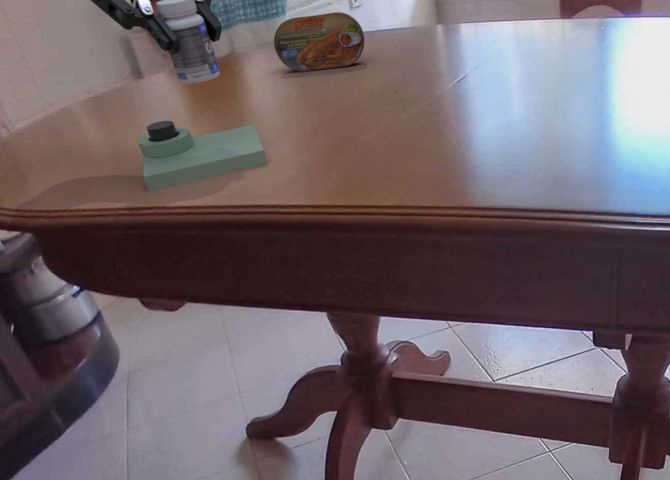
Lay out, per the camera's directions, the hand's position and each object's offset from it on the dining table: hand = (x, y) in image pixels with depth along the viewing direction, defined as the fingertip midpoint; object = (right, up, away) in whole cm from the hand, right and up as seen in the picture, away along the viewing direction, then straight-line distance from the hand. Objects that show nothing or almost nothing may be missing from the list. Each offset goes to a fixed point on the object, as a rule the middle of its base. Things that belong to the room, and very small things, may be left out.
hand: (196, 42), depth 78 cm
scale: (-3, -11, +10) cm, 15 cm away
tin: (+5, +14, +43) cm, 45 cm away
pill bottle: (-1, -3, +4) cm, 5 cm away
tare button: (-8, -8, +9) cm, 15 cm away
